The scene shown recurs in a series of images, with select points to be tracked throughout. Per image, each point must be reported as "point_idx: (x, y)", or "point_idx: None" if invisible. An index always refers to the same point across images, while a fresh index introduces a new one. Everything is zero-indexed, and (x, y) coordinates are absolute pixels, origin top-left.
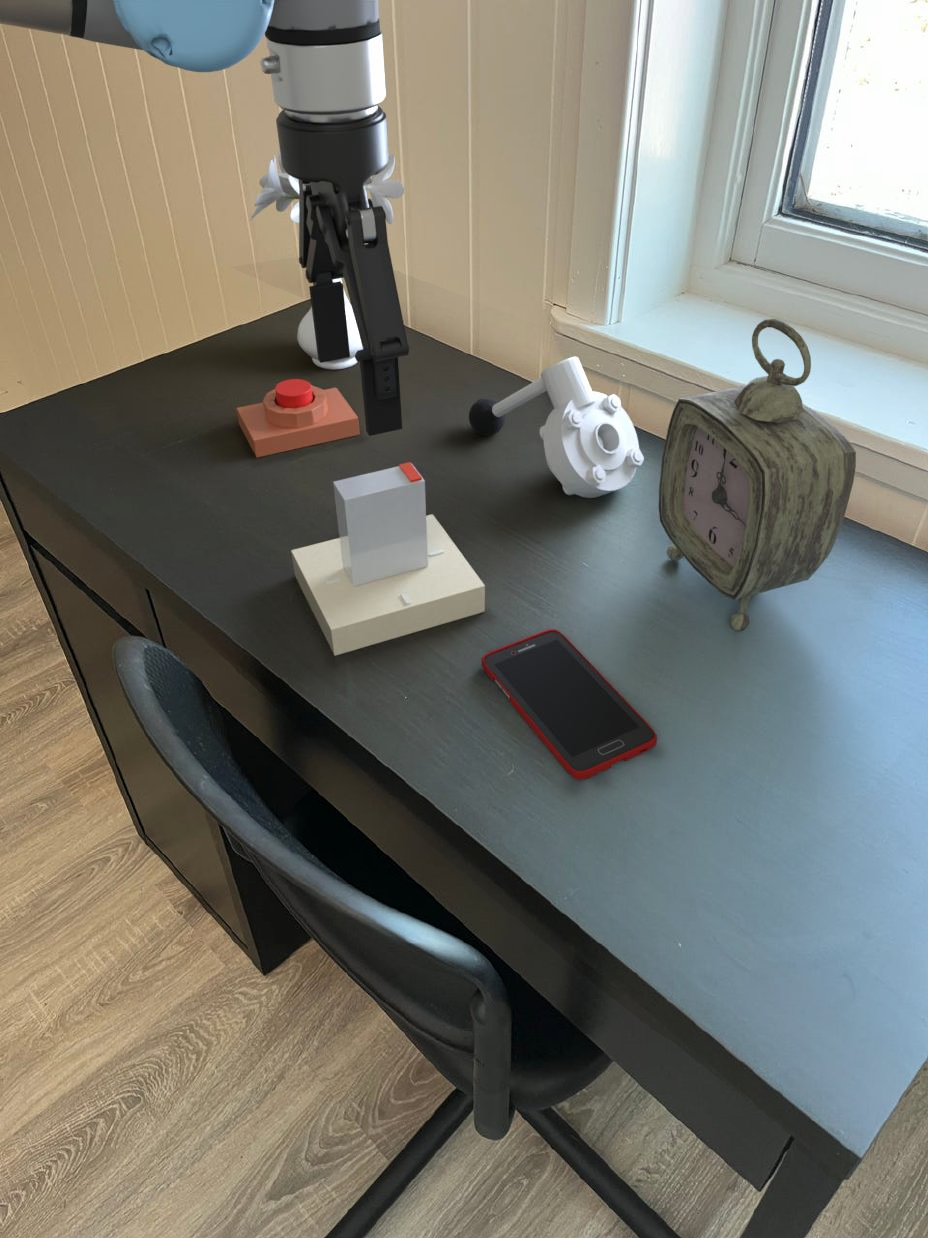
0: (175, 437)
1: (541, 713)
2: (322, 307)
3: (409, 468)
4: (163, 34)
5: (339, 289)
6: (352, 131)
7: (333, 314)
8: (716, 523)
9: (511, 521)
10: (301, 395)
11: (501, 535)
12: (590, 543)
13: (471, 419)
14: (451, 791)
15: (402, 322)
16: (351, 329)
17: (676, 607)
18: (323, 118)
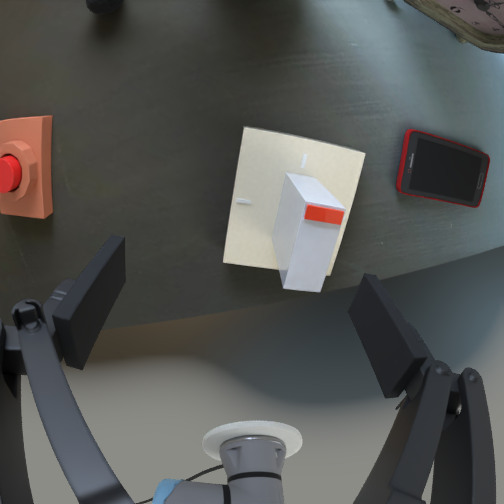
0: (16, 255)
1: (449, 193)
2: (92, 330)
3: (319, 213)
4: None
5: (75, 320)
6: None
7: (95, 302)
8: (465, 8)
9: (261, 50)
10: (13, 173)
11: (275, 70)
12: (332, 20)
13: (102, 12)
14: (438, 256)
15: (486, 406)
16: None
17: (426, 41)
18: None
